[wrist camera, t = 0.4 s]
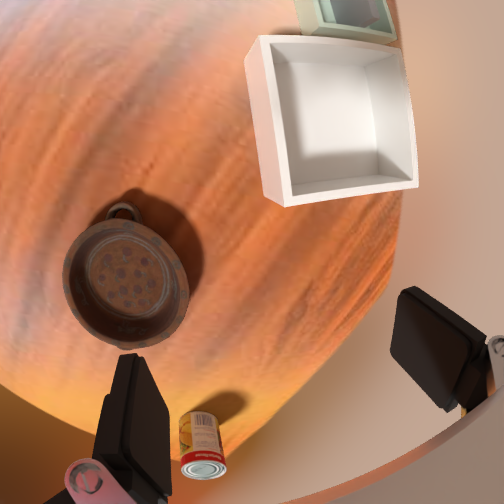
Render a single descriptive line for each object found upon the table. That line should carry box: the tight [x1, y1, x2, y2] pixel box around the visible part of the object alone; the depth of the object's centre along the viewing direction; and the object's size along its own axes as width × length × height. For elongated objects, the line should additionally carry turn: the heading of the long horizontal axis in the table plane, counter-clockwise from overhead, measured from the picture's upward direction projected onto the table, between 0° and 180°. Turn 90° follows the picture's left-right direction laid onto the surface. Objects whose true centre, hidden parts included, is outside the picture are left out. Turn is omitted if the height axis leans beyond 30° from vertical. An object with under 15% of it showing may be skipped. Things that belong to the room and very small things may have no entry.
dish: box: [62, 201, 190, 350], centre depth 36 cm, size 18×22×5 cm
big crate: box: [244, 35, 419, 207], centre depth 32 cm, size 19×19×9 cm
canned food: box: [179, 411, 226, 480], centre depth 44 cm, size 8×8×12 cm
